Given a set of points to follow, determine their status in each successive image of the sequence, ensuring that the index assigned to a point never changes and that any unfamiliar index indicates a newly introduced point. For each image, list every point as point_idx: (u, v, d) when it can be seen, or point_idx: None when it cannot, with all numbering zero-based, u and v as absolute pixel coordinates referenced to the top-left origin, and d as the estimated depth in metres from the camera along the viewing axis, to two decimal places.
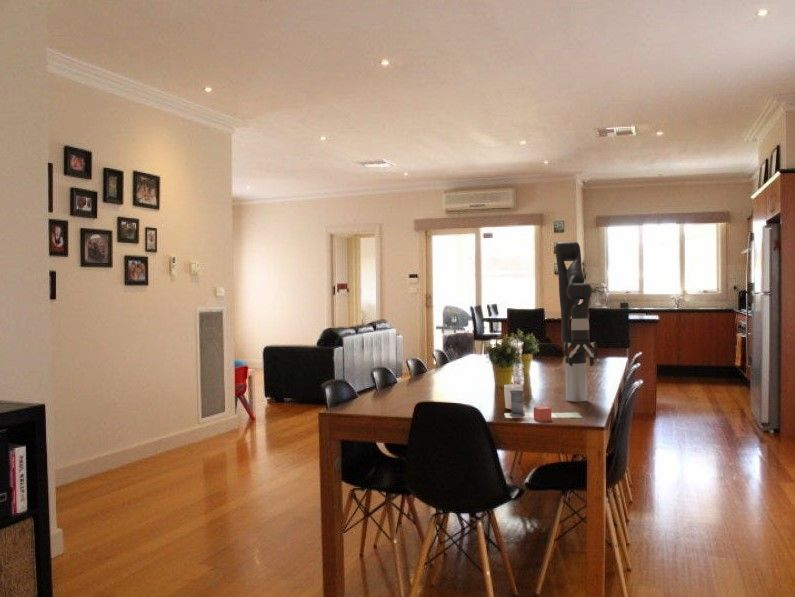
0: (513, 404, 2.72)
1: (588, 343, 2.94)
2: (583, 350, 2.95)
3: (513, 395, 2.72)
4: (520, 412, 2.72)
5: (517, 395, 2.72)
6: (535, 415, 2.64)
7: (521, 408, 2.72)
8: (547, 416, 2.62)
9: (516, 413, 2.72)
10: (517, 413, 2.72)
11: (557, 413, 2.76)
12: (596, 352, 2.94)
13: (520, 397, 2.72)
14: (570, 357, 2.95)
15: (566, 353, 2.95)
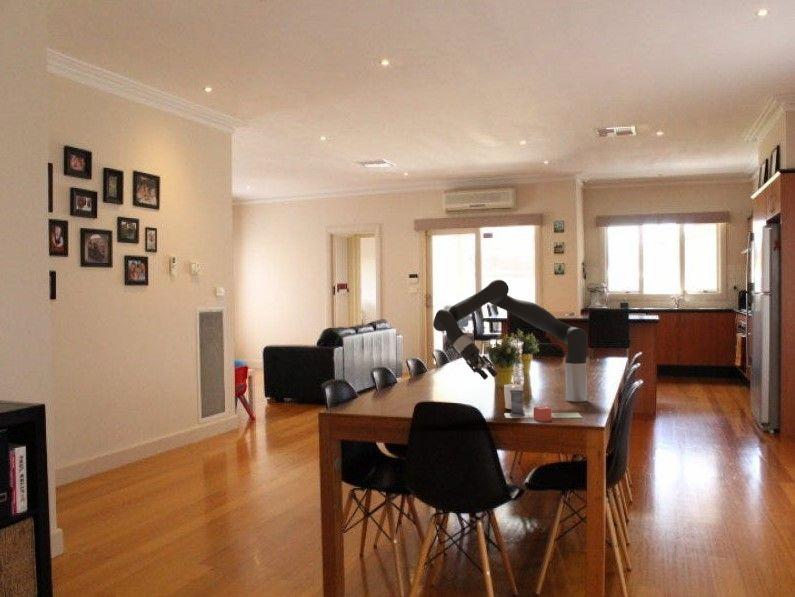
0: (513, 404, 2.72)
1: None
2: (483, 362, 2.83)
3: (513, 395, 2.72)
4: (520, 412, 2.72)
5: (517, 395, 2.72)
6: (535, 415, 2.64)
7: (521, 408, 2.72)
8: (547, 416, 2.62)
9: (516, 413, 2.72)
10: (517, 413, 2.72)
11: (557, 413, 2.76)
12: (490, 362, 2.87)
13: (520, 397, 2.72)
14: (481, 369, 2.77)
15: (477, 366, 2.76)
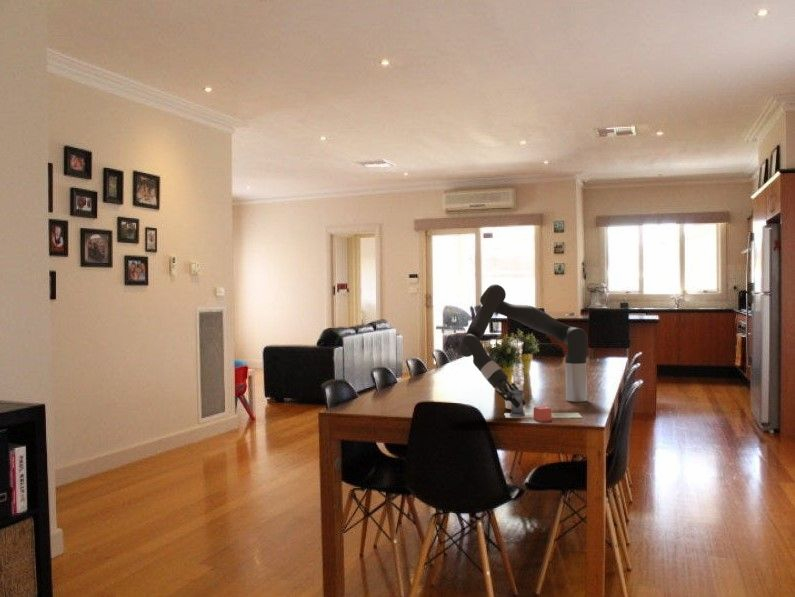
0: None
1: (509, 383, 2.79)
2: (510, 389, 2.76)
3: (513, 395, 2.72)
4: (520, 412, 2.72)
5: (517, 395, 2.72)
6: (535, 415, 2.64)
7: (521, 408, 2.72)
8: (547, 416, 2.62)
9: (516, 413, 2.72)
10: (517, 413, 2.72)
11: (557, 413, 2.76)
12: None
13: (520, 397, 2.72)
14: (513, 397, 2.71)
15: (508, 394, 2.70)
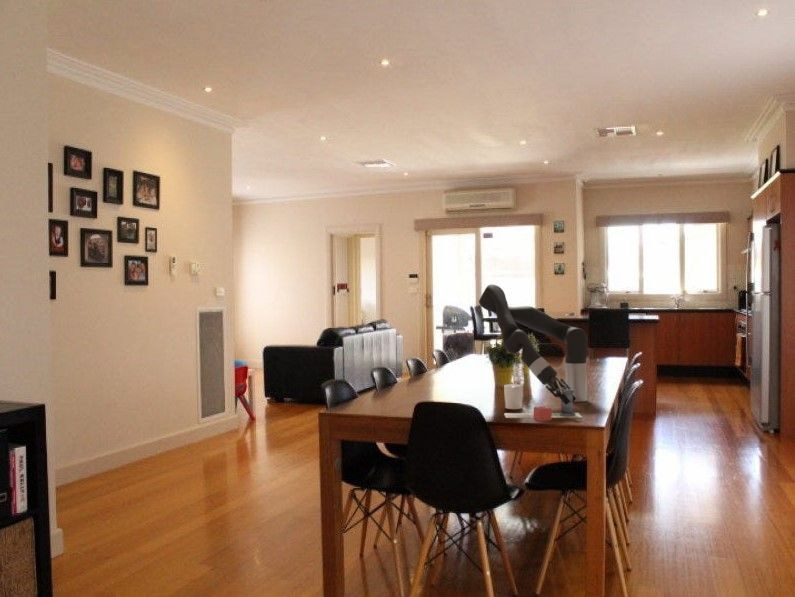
0: (563, 404, 2.71)
1: (558, 379, 2.77)
2: (560, 385, 2.74)
3: None
4: (571, 412, 2.70)
5: (567, 395, 2.70)
6: (535, 415, 2.64)
7: (572, 408, 2.71)
8: (547, 416, 2.62)
9: (567, 413, 2.70)
10: (568, 413, 2.70)
11: (557, 413, 2.76)
12: (568, 386, 2.78)
13: (570, 396, 2.70)
14: None
15: (558, 390, 2.68)
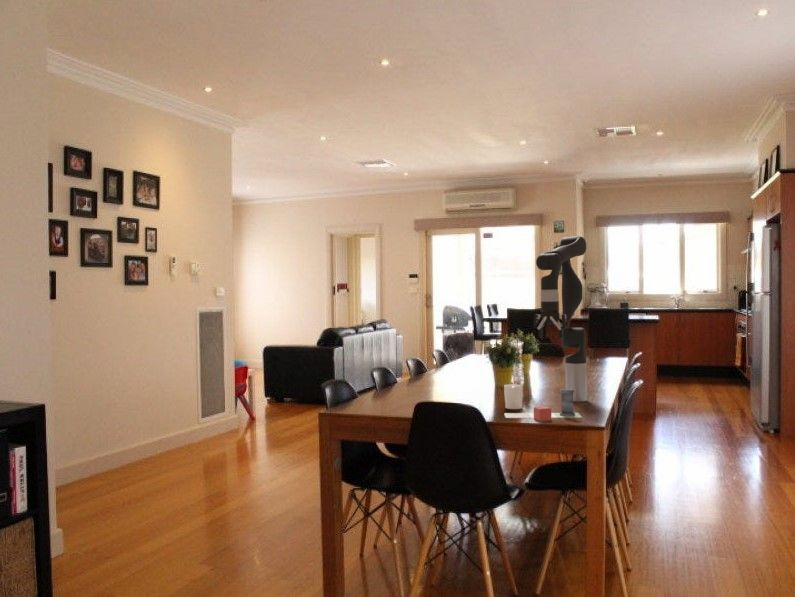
0: (563, 404, 2.71)
1: (556, 315, 2.85)
2: (551, 322, 2.87)
3: (564, 395, 2.70)
4: (571, 412, 2.70)
5: (568, 395, 2.70)
6: (535, 415, 2.64)
7: (572, 408, 2.71)
8: (547, 416, 2.62)
9: (567, 413, 2.70)
10: (568, 413, 2.70)
11: (557, 413, 2.76)
12: (563, 325, 2.83)
13: (571, 397, 2.70)
14: (538, 329, 2.90)
15: (535, 325, 2.91)
